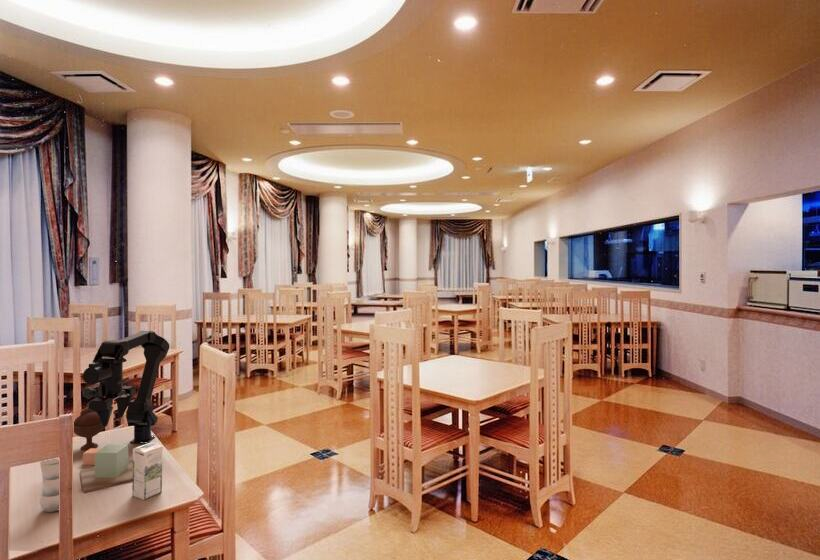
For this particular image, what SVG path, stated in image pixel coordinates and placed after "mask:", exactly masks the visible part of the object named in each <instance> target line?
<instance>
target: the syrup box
mask: <svg viewBox="0 0 820 560" xmlns="http://www.w3.org/2000/svg"><path fill="white" fill-rule="evenodd" d="M163 448H164V447H163V446H162V445H160V444H158V443H156V442H153V441H152V442H151V441H149V442H148V443H144V444H143V445H139V446H137V447H134V448H132V459H133V481H132V482H131V483H132V491H131V492H132V493H131V495H132V496H133V497H135V498H138V499H140V500H143V501H145V500H147V499H150V498H152V497H154V496H156V495H158V494H160V493H162V492H163V491H162V490H163V450H164V449H163Z"/></svg>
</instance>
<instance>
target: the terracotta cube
mask: <svg viewBox="0 0 820 560" xmlns="http://www.w3.org/2000/svg"><path fill="white" fill-rule="evenodd" d="M100 449H101V448H100V447H99V448H98V447H97V448H90V449H89V450H87V451H84V452H83V453H82V466H83V465H85V466H87V465H89V466H90V465H92V466H93V465H94V466H95V452H97V451H98V450H100Z"/></svg>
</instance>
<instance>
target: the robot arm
mask: <svg viewBox="0 0 820 560" xmlns="http://www.w3.org/2000/svg"><path fill="white" fill-rule="evenodd" d="M137 347H141V348H143V355H144V358H145V364H144V367H143V370H142V371H143V373H142V375H141V379H140V383H139V387H138V390H137V389H136V387H135V386H134V385H123V384H124V383H125V382H126V378H125V377H123V376H124V374H123V370H124V369H123V367H124V366H123V364H124V363H126V362H127V359H126V358H125V356H127V355H128V354H129V351H130V350H133V349H134V348H137ZM169 350H170V344H169V342H168V340H166V339H165V338H164V337H162V336H160V335H158V334H157V333H156V332H155V331H153V330H141V331H139V332H136V333H135V334H132V335H129V336H127V337H124V338H122V339H111V340H105V341H104V340H103V342H102V343H100V346H99V348H98V350H97V352H96V353H95V355H94V358H93V360H92V362H91V363H88V367H87V368H85V370H84V371H83V374H82V379H83V382H84V383H86V384H87V385H89V386H88V387H84V388H83V391H82V396H83V397H84V398H86V399H87V400H89V401H88V402H87V407H88V409H91V411H95V412H97V414H98V415H99V418H100V420H101V422H102V425H103V426H105V427H107V426H108V424H109V421H110V419H111V417H112V412H113V409H114V406H113V405H114V401H115V402H116V405H117V406H116V407H117V408H116V409H117V415H118V418H122V417H123V416H124V415H125V420H126V422H127V426H129V427H133V439H132V440H130V441H129V443H130V444H141V443H140V442H148V441H149V442H151V441H152V440H153V439H154V438H155V437H154V436H155V435H152V427H153V426H156V424H158V419H159V418H158V416H157V414H155V413H154V405H153V402H152V397H153V396H152V395H153V393H154V388H155V385H156V380H157V376H158V372H159V368H160V364H161V362H162V361H163V360H164V359H165V358H166V357H167V354H168V352H169ZM96 384H98V385H96ZM93 385H96V386H93ZM92 386H93V387H92ZM136 390H137V391H136ZM136 393H137V395H136V397H135V399H133V398H134V395H135V394H136ZM94 397H95V398H94ZM92 398H93V399H92ZM132 399H133V401H132ZM152 436H153V437H154V438H153V437H152ZM151 439H152V440H151ZM150 440H151V441H150ZM149 442H148V443H149Z"/></svg>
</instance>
